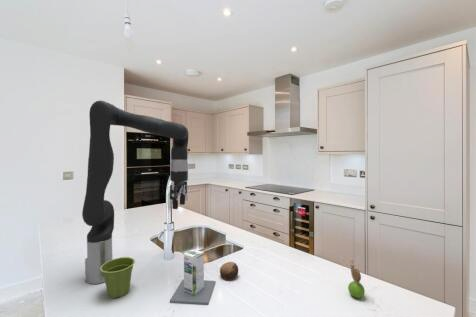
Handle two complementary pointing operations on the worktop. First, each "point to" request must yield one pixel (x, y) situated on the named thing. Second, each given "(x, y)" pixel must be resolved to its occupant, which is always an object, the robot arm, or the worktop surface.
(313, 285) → the worktop surface
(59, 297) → the worktop surface
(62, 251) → the worktop surface
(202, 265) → the syrup box
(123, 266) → the plant pot
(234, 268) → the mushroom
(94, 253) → the robot arm
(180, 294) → the slate pad
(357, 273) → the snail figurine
